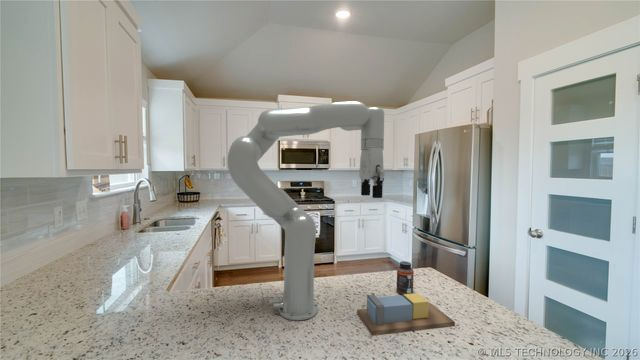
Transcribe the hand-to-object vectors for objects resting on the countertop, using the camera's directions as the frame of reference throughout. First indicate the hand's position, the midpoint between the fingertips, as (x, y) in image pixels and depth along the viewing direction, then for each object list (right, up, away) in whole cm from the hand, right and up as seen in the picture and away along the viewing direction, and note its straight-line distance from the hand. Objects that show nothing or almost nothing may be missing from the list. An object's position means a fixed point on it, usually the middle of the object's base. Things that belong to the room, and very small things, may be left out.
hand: (371, 196), depth 91 cm
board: (+8, -37, -8) cm, 39 cm away
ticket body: (+4, -36, -9) cm, 37 cm away
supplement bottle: (+15, -37, +10) cm, 41 cm away
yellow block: (+12, -36, -8) cm, 38 cm away
